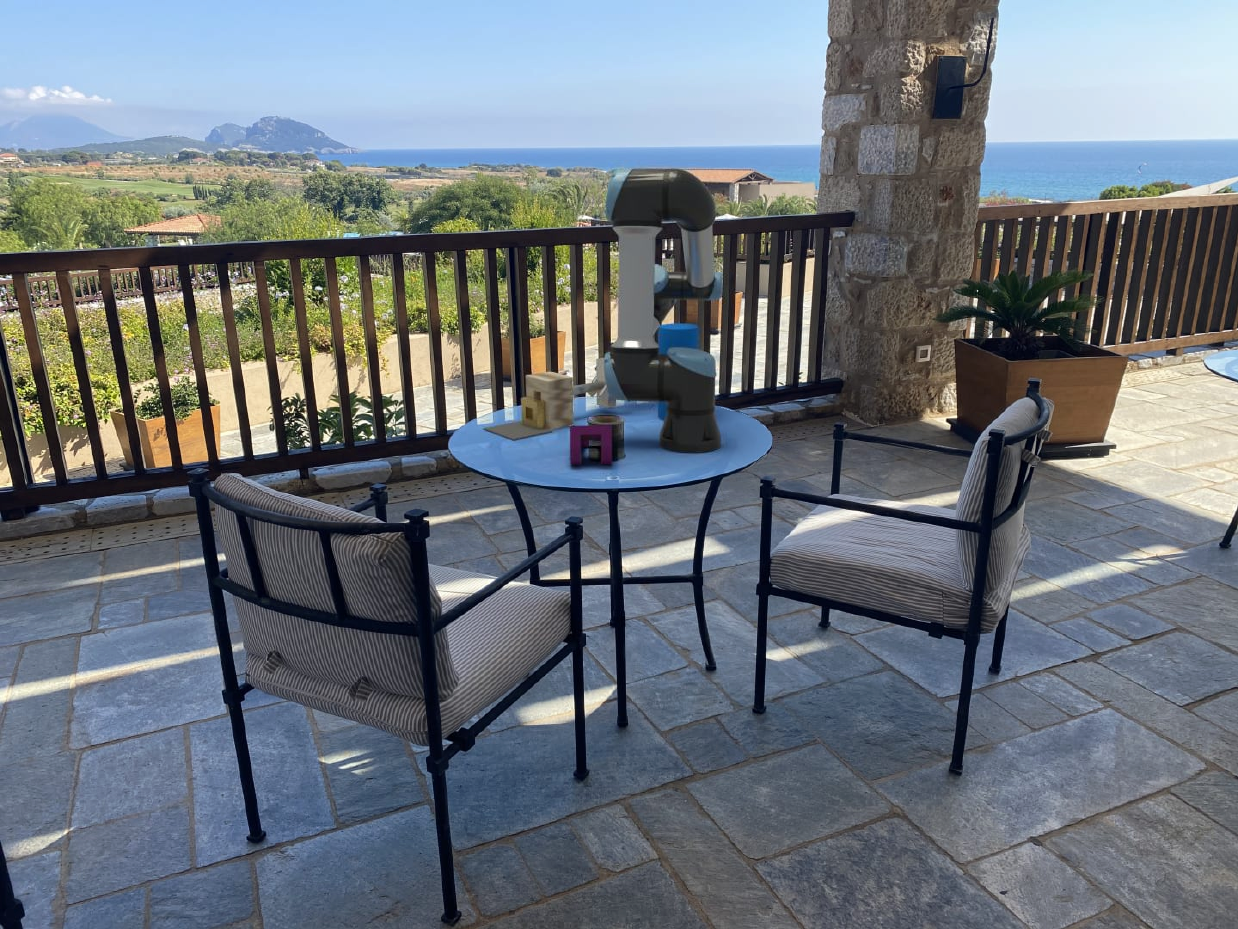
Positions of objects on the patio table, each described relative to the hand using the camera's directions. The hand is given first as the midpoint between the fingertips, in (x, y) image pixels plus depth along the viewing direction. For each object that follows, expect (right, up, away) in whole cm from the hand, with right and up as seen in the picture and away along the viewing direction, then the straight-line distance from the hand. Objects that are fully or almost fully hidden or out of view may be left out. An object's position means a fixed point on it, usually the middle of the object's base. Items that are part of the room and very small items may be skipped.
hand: (596, 395), depth 243 cm
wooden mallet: (-5, -4, -3) cm, 7 cm away
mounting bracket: (0, -18, -36) cm, 40 cm away
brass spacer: (-16, -9, -12) cm, 22 cm away
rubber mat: (-20, -10, -15) cm, 27 cm away
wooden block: (-12, -8, -8) cm, 17 cm away
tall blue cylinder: (+22, -6, -2) cm, 23 cm away
